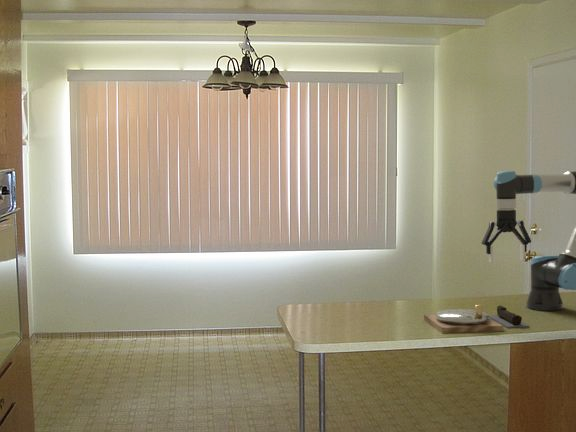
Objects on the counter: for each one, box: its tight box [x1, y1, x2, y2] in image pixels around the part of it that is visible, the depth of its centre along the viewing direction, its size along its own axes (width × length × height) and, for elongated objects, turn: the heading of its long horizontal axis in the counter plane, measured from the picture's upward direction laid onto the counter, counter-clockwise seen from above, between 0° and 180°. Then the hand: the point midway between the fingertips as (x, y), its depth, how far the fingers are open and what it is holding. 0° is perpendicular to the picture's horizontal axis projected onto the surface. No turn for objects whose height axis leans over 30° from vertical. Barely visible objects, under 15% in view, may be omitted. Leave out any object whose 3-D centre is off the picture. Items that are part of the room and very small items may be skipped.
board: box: [423, 313, 504, 334], centre depth 300 cm, size 24×24×2 cm
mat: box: [488, 314, 530, 329], centre depth 305 cm, size 9×22×1 cm, turn 6°
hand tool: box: [496, 305, 523, 325], centre depth 305 cm, size 19×4×5 cm, turn 5°
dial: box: [436, 304, 489, 325], centre depth 299 cm, size 20×20×7 cm
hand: (506, 261), depth 308 cm, fingers open, 13 cm apart
